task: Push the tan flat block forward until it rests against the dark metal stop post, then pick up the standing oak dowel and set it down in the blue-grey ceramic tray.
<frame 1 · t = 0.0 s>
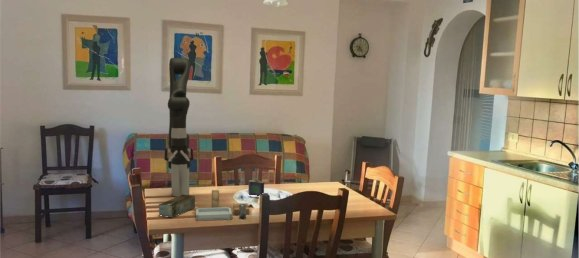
hand: (179, 168, 239), 17 cm above the table, tool pointing down, fingers open, 8 cm apart
stop post: (242, 217, 217), on the table
tray: (213, 216, 218), on the table
dowel: (215, 208, 230), on the table
beverage carton: (177, 212, 224), on the table
flask: (256, 198, 251), on the table
tan flat block: (240, 212, 226), on the table
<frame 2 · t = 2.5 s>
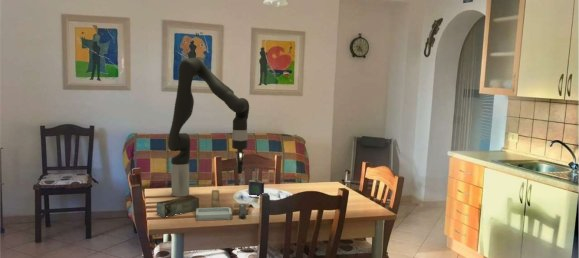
hand: (239, 173, 234), 17 cm above the table, tool pointing down, fingers closed
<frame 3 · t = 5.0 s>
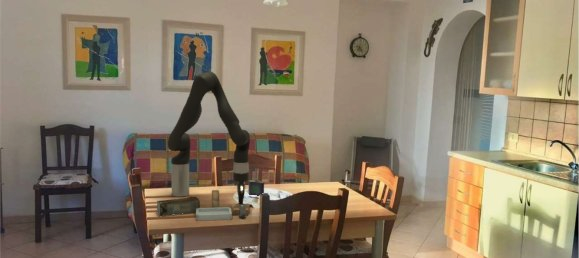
hand: (240, 205, 231), 1 cm above the table, tool pointing down, fingers closed
tan flat block: (241, 212, 225), on the table
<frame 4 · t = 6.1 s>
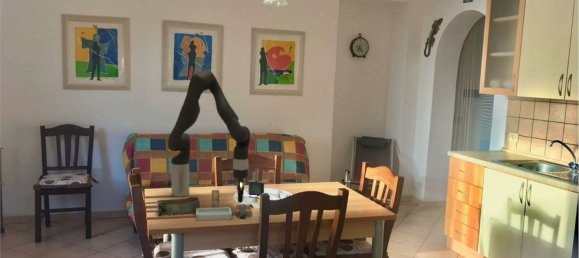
hand: (240, 202, 230), 3 cm above the table, tool pointing down, fingers closed
tan flat block: (243, 214, 223), on the table
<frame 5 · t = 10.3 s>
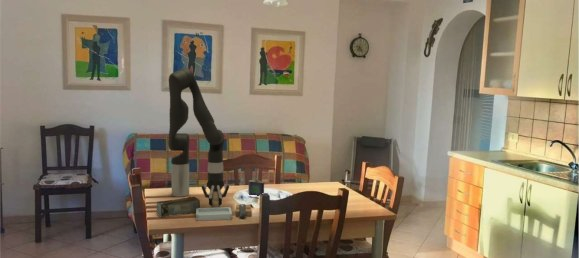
hand: (215, 205, 230), 2 cm above the table, tool pointing down, fingers closed on dowel, 3 cm apart
dowel: (215, 208, 230), on the table, touching gripper
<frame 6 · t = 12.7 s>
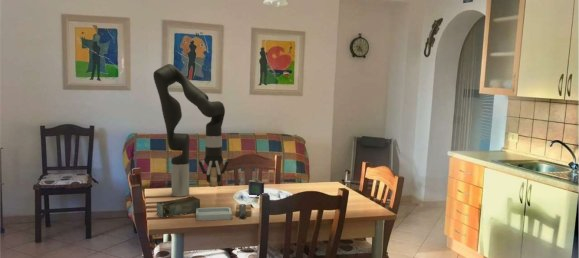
hand: (213, 182, 216), 16 cm above the table, tool pointing down, fingers closed on dowel, 3 cm apart
dowel: (213, 185, 216), point 14 cm above the table, touching gripper
when the fingers open (4 cm above the table, at t = 15.1 s): dowel stays where it is, resting on tray.
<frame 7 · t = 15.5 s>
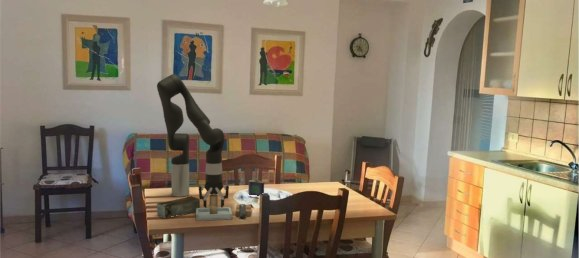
hand: (213, 207, 217), 4 cm above the table, tool pointing down, fingers open, 6 cm apart
dowel: (213, 214, 218), point 1 cm above the table, touching tray
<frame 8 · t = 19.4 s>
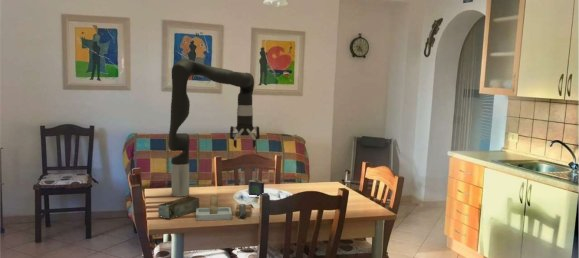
hand: (244, 147, 228), 30 cm above the table, tool pointing down, fingers open, 8 cm apart
at the end: dowel inside the target area on the tray (0.1 cm from its centre), point 1.1 cm above the tray's base; tan flat block 1.1 cm from the target spot, on the table; the gripper is holding nothing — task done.
